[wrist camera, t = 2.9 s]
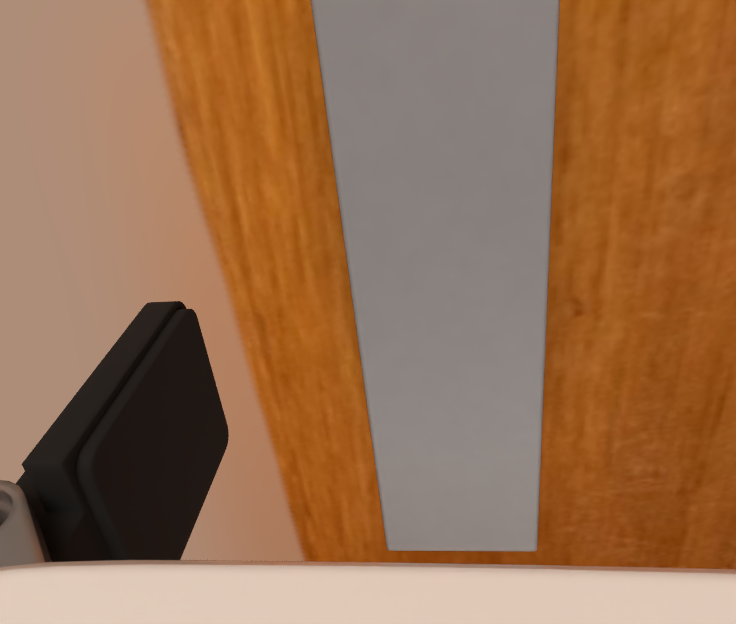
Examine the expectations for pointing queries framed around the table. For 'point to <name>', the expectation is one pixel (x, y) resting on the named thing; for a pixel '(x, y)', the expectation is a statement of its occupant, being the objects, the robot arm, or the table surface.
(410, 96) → the case
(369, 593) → the robot arm
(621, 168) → the table surface
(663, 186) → the table surface
